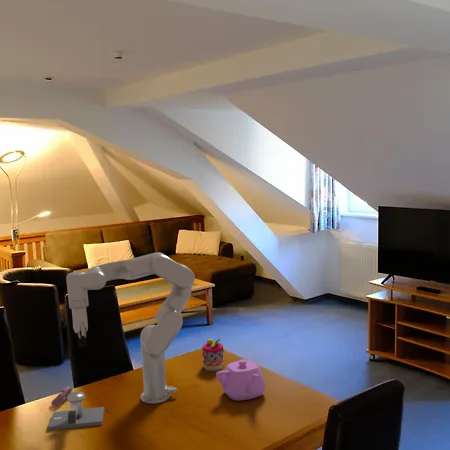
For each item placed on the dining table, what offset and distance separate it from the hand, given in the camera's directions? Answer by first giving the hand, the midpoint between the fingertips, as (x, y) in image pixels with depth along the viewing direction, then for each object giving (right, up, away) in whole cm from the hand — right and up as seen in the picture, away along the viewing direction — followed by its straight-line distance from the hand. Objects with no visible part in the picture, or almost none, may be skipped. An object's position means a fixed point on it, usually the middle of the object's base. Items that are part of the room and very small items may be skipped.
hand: (83, 346), depth 206 cm
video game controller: (-12, -27, +12) cm, 32 cm away
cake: (+52, -21, +43) cm, 71 cm away
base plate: (-1, -28, -5) cm, 28 cm away
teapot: (+66, -24, +12) cm, 72 cm away
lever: (0, -27, -11) cm, 29 cm away
